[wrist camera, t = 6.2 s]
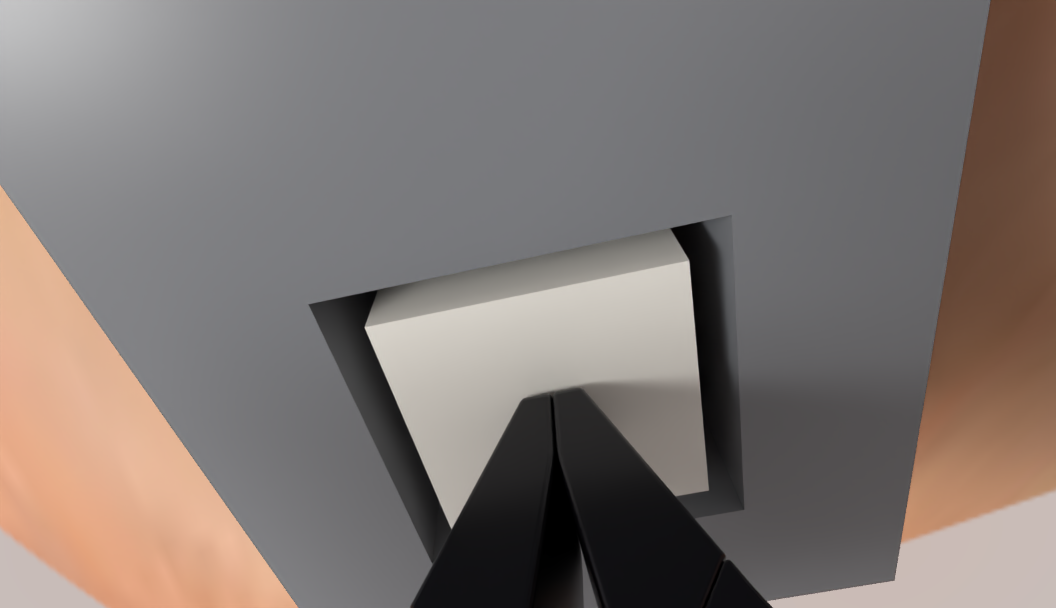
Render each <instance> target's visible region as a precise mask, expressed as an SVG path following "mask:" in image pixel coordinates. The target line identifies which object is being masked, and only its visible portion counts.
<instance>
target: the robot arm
mask: <svg viewBox="0 0 1056 608" xmlns="http://www.w3.org/2000/svg"><path fill="white" fill-rule="evenodd" d="M580 546H581V547H580ZM581 550H582V553H583V557H584V561H585V565H586V568H587V572H588V576H589V579H590V583H591V586H592V590H593V593H594V597H595V600H596V604H597V607H598V608H772V606H771V605H770V604H769V603H768V602H767V601H766V600H765V599H764V598H763V597H762V595H761V594H760V593H759V592H758V591H757V590H756V589H755V588H754V587H753V585H752V584H751V583H750V582H749V581H748V580H747V578H746V577H745V576H744V575H743V574H742V573H741V572H740V570H739V569H738V568H737V567H736V566H735V565H734V563H733V562H732V561H731V560H726V555H725V553H724V552H723V551H722V550H721V549H720V548H719V546H718V545H717V544H716V543H715V542H714V541H713V539H712V538H711V537H710V536H709V535H708V534H707V532H706V531H705V530H704V529H703V528H702V527H701V525H700V524H699V523H698V522H697V521H696V520H695V518H694V517H693V516H692V515H691V514H690V513H689V511H688V510H687V509H686V508H685V507H684V506H683V504H682V503H681V502H680V501H679V500H678V499H677V497H676V496H675V495H674V494H673V493H672V492H671V490H670V489H669V488H668V487H667V486H666V485H665V483H664V482H663V481H662V480H661V479H660V478H659V476H658V475H657V474H656V473H655V472H654V471H653V469H652V468H651V467H650V466H649V465H648V464H647V462H646V461H645V460H644V459H643V458H642V457H641V455H640V454H639V453H638V452H637V451H636V450H635V448H634V447H633V446H632V445H631V444H630V443H629V441H628V440H627V439H626V438H625V437H624V436H623V434H622V433H621V432H620V431H619V430H618V429H617V427H616V426H615V425H614V424H613V423H612V422H611V421H610V419H609V418H608V417H607V416H606V415H605V414H604V412H603V411H602V410H601V409H600V408H599V407H598V405H597V404H596V403H595V402H594V401H593V400H592V398H591V397H590V396H589V395H588V394H587V393H586V391H585V390H584V389H582V388H579V387H577V388H572V389H567V390H562V391H557V392H555V393H554V394H553V398H552V396H551V395H550V394H541V395H536V396H530V397H526V398H523V399H522V400H521V401H520V403H519V404H518V406H517V408H516V410H515V412H514V414H513V416H512V418H511V419H510V421H509V423H508V425H507V427H506V429H505V431H504V432H503V434H502V436H501V438H500V440H499V442H498V444H497V445H496V447H495V449H494V451H493V453H492V455H491V457H490V459H489V460H488V462H487V464H486V466H485V468H484V470H483V472H482V473H481V475H480V477H479V479H478V481H477V483H476V485H475V486H474V488H473V490H472V492H471V494H470V496H469V498H468V500H467V501H466V503H465V505H464V507H463V509H462V511H461V513H460V514H459V516H458V518H457V520H456V522H455V524H454V526H453V527H452V529H451V531H450V533H449V535H448V537H447V539H446V541H445V542H444V544H443V546H442V548H441V550H440V552H439V554H438V555H437V557H436V559H435V561H434V563H433V565H432V567H431V568H430V570H429V572H428V574H427V576H426V578H425V580H424V582H423V583H422V585H421V587H420V589H419V591H418V593H417V595H416V596H415V598H414V600H413V602H412V604H411V606H410V608H584V596H583V570H582V555H581Z"/></svg>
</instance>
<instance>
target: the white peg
mask: <svg viewBox="0 0 1056 608" xmlns="http://www.w3.org/2000/svg"><path fill="white" fill-rule="evenodd" d="M364 328H365V330H366V332H367V334H368V337H369V339H370V341H371V344H372V346H373V348H374V351H375V353H376V355H377V358H378V360H379V362H380V365H381V367H382V369H383V372H384V374H385V376H386V379H387V381H388V383H389V386H390V388H391V390H392V393H393V395H394V397H395V400H396V402H397V404H398V407H399V409H400V411H401V413H402V416H403V418H404V420H405V423H406V425H407V427H408V430H409V432H410V434H411V437H412V439H413V441H414V444H415V446H416V448H417V451H418V453H419V455H420V458H421V460H422V462H423V465H424V467H425V469H426V472H427V474H428V476H429V479H430V481H431V483H432V486H433V488H434V490H435V493H436V495H437V497H438V499H439V502H440V504H441V506H442V509H443V511H444V513H445V516H446V518H447V520H448V523H449V525H450V527H451V529H452V527H453V526H454V524H455V522H456V520H457V518H458V516H459V514H460V513H461V511H462V509H463V507H464V505H465V503H466V501H467V500H468V498H469V496H470V494H471V492H472V490H473V488H474V486H475V485H476V483H477V481H478V479H479V477H480V475H481V473H482V472H483V470H484V468H485V466H486V464H487V462H488V460H489V459H490V457H491V455H492V453H493V451H494V449H495V447H496V445H497V444H498V442H499V440H500V438H501V436H502V434H503V432H504V431H505V429H506V427H507V425H508V423H509V421H510V419H511V418H512V416H513V414H514V412H515V410H516V408H517V406H518V404H519V403H520V401H521V400H522V399H523V398H526V397H530V396H536V395H541V394H550V395H551V396H552V398H553V394H554V393H555V392H557V391H562V390H567V389H572V388H577V387H579V388H582V389H584V390H585V391H586V393H587V394H588V395H589V396H590V397H591V398H592V400H593V401H594V402H595V403H596V404H597V405H598V407H599V408H600V409H601V410H602V411H603V412H604V414H605V415H606V416H607V417H608V418H609V419H610V421H611V422H612V423H613V424H614V425H615V426H616V427H617V429H618V430H619V431H620V432H621V433H622V434H623V436H624V437H625V438H626V439H627V440H628V441H629V443H630V444H631V445H632V446H633V447H634V448H635V450H636V451H637V452H638V453H639V454H640V455H641V457H642V458H643V459H644V460H645V461H646V462H647V464H648V465H649V466H650V467H651V468H652V469H653V471H654V472H655V473H656V474H657V475H658V476H659V478H660V479H661V480H662V481H663V482H664V483H665V485H666V486H667V487H668V488H669V489H670V490H671V492H672V493H673V494H674V495H675V496H680V495H686V494H691V493H697V492H703V491H709V485H708V474H707V462H706V450H705V439H704V427H703V415H702V404H701V392H700V381H699V369H698V357H697V346H696V334H695V322H694V311H693V299H692V287H691V276H690V264H689V259H688V258H687V256H686V254H685V253H684V251H683V249H682V248H681V246H680V244H679V242H678V241H677V239H676V237H675V236H674V234H673V232H672V231H671V229H670V228H668V229H663V230H658V231H654V232H649V233H644V234H639V235H635V236H630V237H625V238H620V239H616V240H611V241H606V242H601V243H597V244H592V245H587V246H582V247H578V248H573V249H568V250H564V251H559V252H554V253H549V254H545V255H540V256H535V257H530V258H526V259H521V260H516V261H511V262H507V263H502V264H497V265H492V266H488V267H483V268H478V269H473V270H469V271H464V272H459V273H454V274H450V275H445V276H440V277H435V278H431V279H426V280H421V281H416V282H412V283H407V284H402V285H397V286H393V287H388V288H383V289H379V290H378V291H377V294H376V297H375V300H374V302H373V305H372V308H371V311H370V314H369V316H368V319H367V322H366V325H365V327H364Z"/></svg>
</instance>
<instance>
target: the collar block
mask: <svg viewBox="0 0 1056 608" xmlns="http://www.w3.org/2000/svg"><path fill="white" fill-rule="evenodd" d="M989 6H990V0H0V185H1V186H2V188H3V189H4V191H5V192H6V194H7V195H8V196H9V198H10V199H11V201H12V202H13V203H14V205H15V206H16V208H17V209H18V211H19V212H20V213H21V215H22V216H23V218H24V219H25V220H26V222H27V223H28V225H29V226H30V228H31V229H32V230H33V232H34V233H35V235H36V236H37V238H38V239H39V240H40V242H41V243H42V245H43V246H44V247H45V249H46V250H47V252H48V253H49V255H50V256H51V257H52V259H53V260H54V262H55V263H56V264H57V266H58V267H59V269H60V270H61V272H62V273H63V274H64V276H65V277H66V279H67V280H68V281H69V283H70V284H71V286H72V287H73V289H74V290H75V291H76V293H77V294H78V296H79V297H80V299H81V300H82V301H83V303H84V304H85V306H86V307H87V308H88V310H89V311H90V313H91V314H92V316H93V317H94V318H95V320H96V321H97V323H98V324H99V325H100V327H101V328H102V330H103V331H104V333H105V334H106V335H107V337H108V338H109V340H110V341H111V342H112V344H113V345H114V347H115V348H116V350H117V351H118V352H119V354H120V355H121V357H122V358H123V359H124V361H125V362H126V364H127V365H128V367H129V368H130V369H131V371H132V372H133V374H134V375H135V377H136V378H137V379H138V381H139V382H140V384H141V385H142V386H143V388H144V389H145V391H146V392H147V394H148V395H149V396H150V398H151V399H152V401H153V402H154V403H155V405H156V406H157V408H158V409H159V411H160V412H161V413H162V415H163V416H164V418H165V419H166V420H167V422H168V423H169V425H170V426H171V428H172V429H173V430H174V432H175V433H176V435H177V436H178V438H179V439H180V440H181V442H182V443H183V445H184V446H185V447H186V449H187V450H188V452H189V453H190V455H191V456H192V457H193V459H194V460H195V462H196V463H197V464H198V466H199V467H200V469H201V470H202V472H203V473H204V474H205V476H206V477H207V479H208V480H209V481H210V483H211V484H212V486H213V487H214V489H215V490H216V491H217V493H218V494H219V496H220V497H221V498H222V500H223V501H224V503H225V504H226V506H227V507H228V508H229V510H230V511H231V513H232V514H233V516H234V517H235V518H236V520H237V521H238V523H239V524H240V525H241V527H242V528H243V530H244V531H245V533H246V534H247V535H248V537H249V538H250V540H251V541H252V542H253V544H254V545H255V547H256V548H257V550H258V551H259V552H260V554H261V555H262V557H263V558H264V559H265V561H266V562H267V564H268V565H269V567H270V568H271V569H272V571H273V572H274V574H275V575H276V577H277V578H278V579H279V581H280V582H281V584H282V585H283V586H284V588H285V589H286V591H287V592H288V594H289V595H290V596H291V598H292V599H293V601H294V602H295V603H296V605H297V606H298V608H410V606H411V604H412V602H413V600H414V598H415V596H416V595H417V593H418V591H419V589H420V587H421V585H422V583H423V582H424V580H425V578H426V576H427V574H428V572H429V570H430V568H431V567H432V565H433V563H434V561H435V559H436V557H437V555H438V554H439V552H440V550H441V548H442V546H443V544H444V542H445V541H446V539H447V537H448V535H449V533H450V531H451V527H450V525H449V523H448V520H447V518H446V516H445V513H444V511H443V509H442V506H441V504H440V502H439V499H438V497H437V495H436V493H435V490H434V488H433V486H432V483H431V481H430V479H429V476H428V474H427V472H426V469H425V467H424V465H423V462H422V460H421V458H420V455H419V453H418V451H417V448H416V446H415V444H414V441H413V439H412V437H411V434H410V432H409V430H408V427H407V425H406V423H405V420H404V418H403V416H402V413H401V411H400V409H399V407H398V404H397V402H396V400H395V397H394V395H393V393H392V390H391V388H390V386H389V383H388V381H387V379H386V376H385V374H384V372H383V369H382V367H381V365H380V362H379V360H378V358H377V355H376V353H375V351H374V348H373V346H372V344H371V341H370V339H369V337H368V334H367V332H366V330H365V328H364V327H365V325H366V322H367V319H368V316H369V314H370V311H371V308H372V305H373V302H374V300H375V297H376V294H377V291H378V290H379V289H383V288H388V287H393V286H397V285H402V284H407V283H412V282H416V281H421V280H426V279H431V278H435V277H440V276H445V275H450V274H454V273H459V272H464V271H469V270H473V269H478V268H483V267H488V266H492V265H497V264H502V263H507V262H511V261H516V260H521V259H526V258H530V257H535V256H540V255H545V254H549V253H554V252H559V251H564V250H568V249H573V248H578V247H582V246H587V245H592V244H597V243H601V242H606V241H611V240H616V239H620V238H625V237H630V236H635V235H639V234H644V233H649V232H654V231H658V230H663V229H668V228H670V229H671V231H672V232H673V234H674V236H675V237H676V239H677V241H678V242H679V244H680V246H681V248H682V249H683V251H684V253H685V254H686V256H687V258H688V259H689V264H690V276H691V287H692V299H693V311H694V322H695V334H696V346H697V357H698V369H699V381H700V392H701V404H702V415H703V427H704V439H705V450H706V462H707V474H708V485H709V491H703V492H697V493H691V494H686V495H680V496H676V497H677V499H678V500H679V501H680V502H681V503H682V504H683V506H684V507H685V508H686V509H687V510H688V511H689V513H690V514H691V515H692V516H693V517H694V518H695V520H696V521H697V522H698V523H699V524H700V525H701V527H702V528H703V529H704V530H705V531H706V532H707V534H708V535H709V536H710V537H711V538H712V539H713V541H714V542H715V543H716V544H717V545H718V546H719V548H720V549H721V550H722V551H723V552H724V553H725V555H726V560H731V561H732V562H733V563H734V565H735V566H736V567H737V568H738V569H739V570H740V572H741V573H742V574H743V575H744V576H745V577H746V578H747V580H748V581H749V582H750V583H751V584H752V585H753V587H754V588H755V589H756V590H757V591H758V592H759V593H760V594H761V595H762V597H763V598H764V599H765V600H766V601H769V600H776V599H781V598H788V597H794V596H800V595H806V594H813V593H819V592H826V591H831V590H838V589H844V588H850V587H857V586H863V585H869V584H876V583H882V582H888V581H894V580H895V573H896V567H897V561H898V555H899V549H900V544H901V538H902V531H903V525H904V519H905V513H906V507H907V501H908V495H909V489H910V483H911V477H912V471H913V465H914V459H915V453H916V447H917V441H918V435H919V429H920V423H921V417H922V411H923V405H924V399H925V393H926V387H927V381H928V375H929V369H930V363H931V356H932V350H933V344H934V338H935V332H936V326H937V320H938V314H939V308H940V302H941V296H942V290H943V284H944V278H945V272H946V266H947V260H948V254H949V248H950V242H951V236H952V230H953V224H954V218H955V212H956V206H957V200H958V194H959V188H960V181H961V175H962V169H963V163H964V157H965V151H966V145H967V139H968V133H969V127H970V121H971V115H972V109H973V103H974V97H975V91H976V85H977V79H978V73H979V67H980V61H981V55H982V49H983V43H984V37H985V31H986V25H987V19H988V12H989ZM580 547H581V546H580ZM581 555H582V570H583V596H584V608H598V607H597V604H596V600H595V597H594V593H593V590H592V586H591V583H590V579H589V576H588V572H587V568H586V565H585V561H584V557H583V553H582V550H581Z"/></svg>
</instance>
